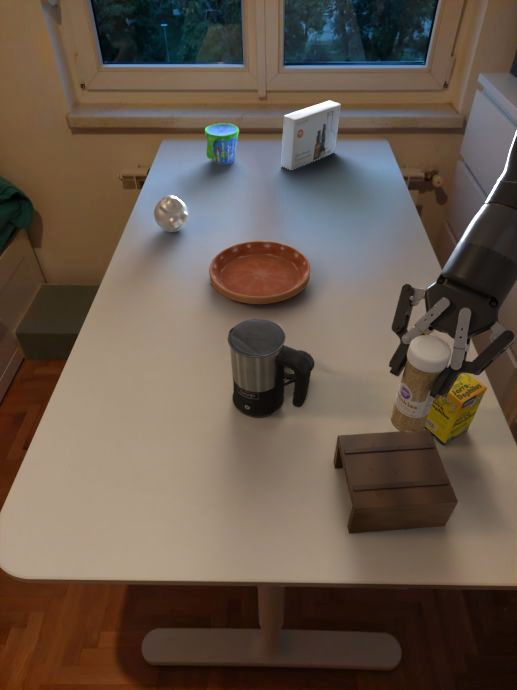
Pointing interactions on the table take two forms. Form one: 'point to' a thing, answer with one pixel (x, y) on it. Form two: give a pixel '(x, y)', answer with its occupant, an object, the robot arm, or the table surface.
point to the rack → (394, 481)
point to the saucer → (259, 272)
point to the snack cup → (222, 142)
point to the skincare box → (309, 134)
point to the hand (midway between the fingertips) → (413, 385)
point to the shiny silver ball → (171, 214)
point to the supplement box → (455, 409)
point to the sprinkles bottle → (419, 382)
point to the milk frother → (265, 368)
